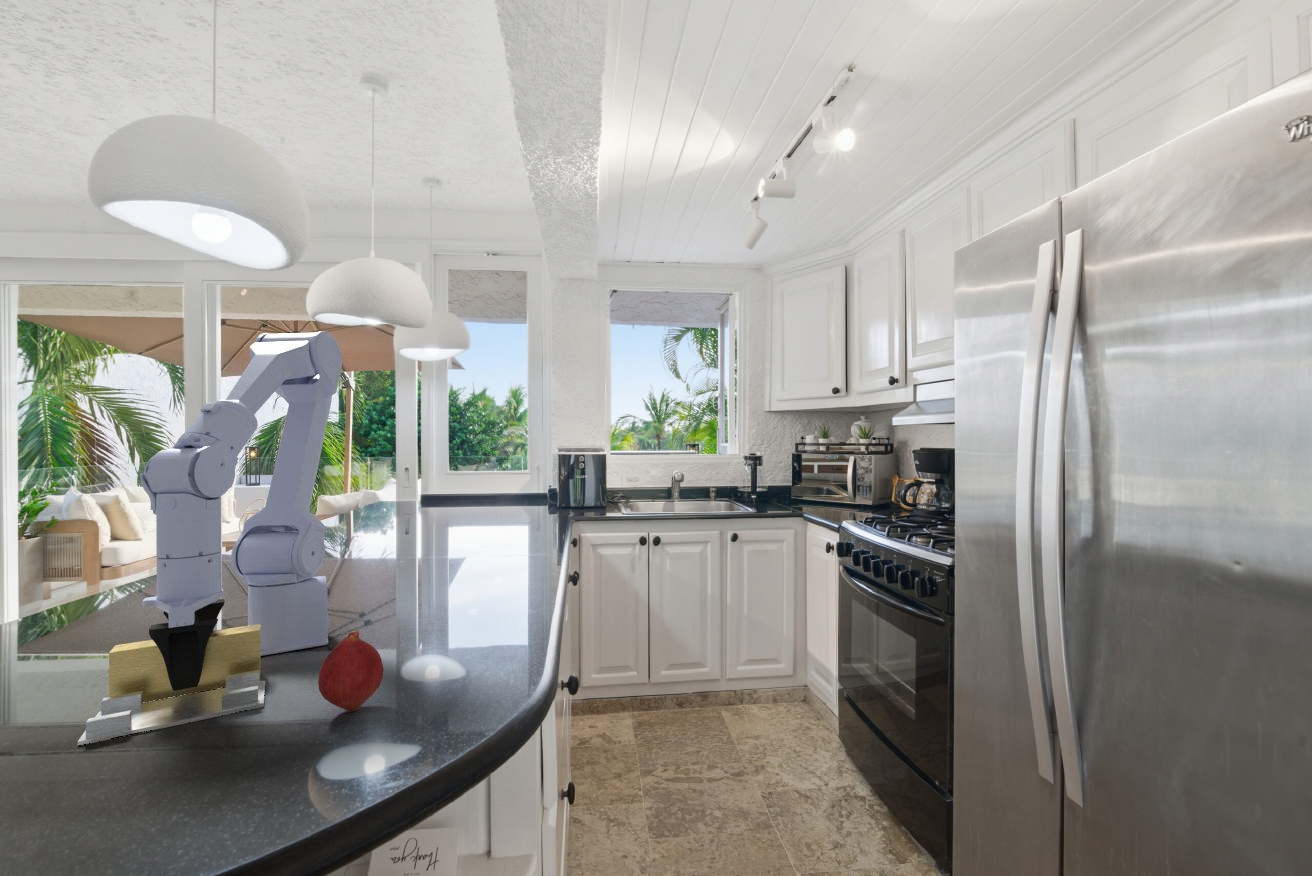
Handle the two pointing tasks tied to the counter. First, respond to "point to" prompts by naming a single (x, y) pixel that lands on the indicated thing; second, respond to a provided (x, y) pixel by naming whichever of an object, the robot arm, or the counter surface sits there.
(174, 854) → the counter surface
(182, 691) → the brass plaque on stand
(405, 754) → the counter surface
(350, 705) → the onion
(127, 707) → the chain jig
